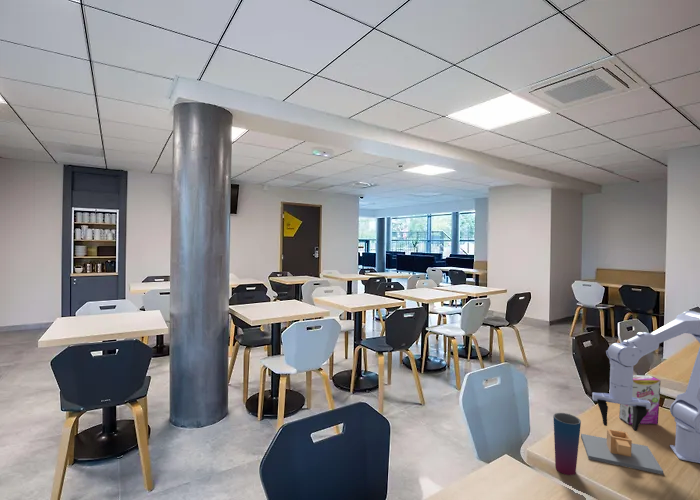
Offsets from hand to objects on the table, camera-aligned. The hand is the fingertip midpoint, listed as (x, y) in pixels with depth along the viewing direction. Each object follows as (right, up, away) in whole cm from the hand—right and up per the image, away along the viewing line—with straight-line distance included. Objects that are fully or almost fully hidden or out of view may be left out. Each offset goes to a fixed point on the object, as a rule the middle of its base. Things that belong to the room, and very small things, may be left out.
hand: (619, 426), depth 116 cm
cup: (-21, -9, -8) cm, 24 cm away
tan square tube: (-1, -7, -1) cm, 8 cm away
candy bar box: (+22, -8, +21) cm, 31 cm away
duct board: (0, -8, 0) cm, 8 cm away
